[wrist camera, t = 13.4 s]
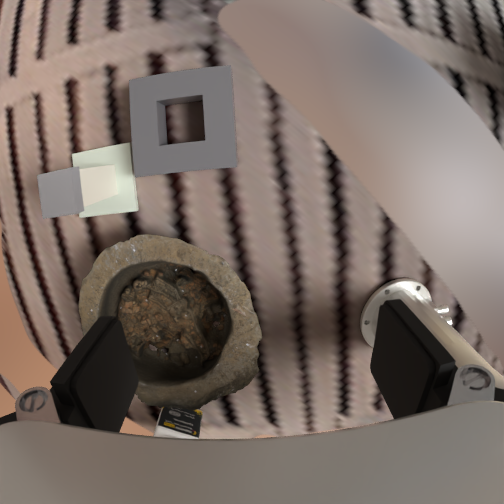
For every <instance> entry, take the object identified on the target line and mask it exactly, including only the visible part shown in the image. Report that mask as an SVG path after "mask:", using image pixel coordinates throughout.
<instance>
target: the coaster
mask: <svg viewBox="0 0 504 504" xmlns="http://www.w3.org/2000/svg"><path fill="white" fill-rule="evenodd" d="M72 159H73V167H78V166H79V169H85V168H91V167H98V166H105V165H113V164H115V171H116V181H117V190H118V194H117V195H115V196H112V197H109V198H107V199H104V200H101V201H99V202H96V203H94V204H91V205H89V206H86V207H84V211H83V212H80V213H79V216H80V218H82V217H90V216H98V215H106V214H115V213H123V212H132V211H138V210H139V209H138V201H137V192H136V183H135V173H134V163H133V151H132V143H124V144H118V145H113V146H108V147H103V148H98V149H93V150H88V151H84V152H79V153H75V154H72Z"/></svg>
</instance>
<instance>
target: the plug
mask: <svg viewBox="0 0 504 504" xmlns="http://www.w3.org/2000/svg"><path fill="white" fill-rule="evenodd" d="M37 179H38V188H39V196H40V203H41V210H42V216H43V219H45V218H52V217H59V216H66V215H73V214H78V213H80V212H83V211H84V207H86V206H89V205H91V204H94V203H96V202H99V201H101V200H104V199H107V198H109V197H112V196H115V195H117V194H118V190H117V181H116V171H115V164H113V165H105V166H98V167H91V168H85V169H79V166H78V167H71V168H66V169H62V170H57V171H53V172H48V173H44V174H40V175H37Z"/></svg>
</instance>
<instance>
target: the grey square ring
mask: <svg viewBox="0 0 504 504" xmlns="http://www.w3.org/2000/svg"><path fill="white" fill-rule="evenodd" d="M129 96H130V120H131V137H132V151H133V163H134V173H135V177H142V176H150V175H158V174H167V173H176V172H185V171H195V170H206V169H218V168H231V167H237V166H238V158H237V143H236V127H235V111H234V95H233V78H232V70H231V65H228V66H217V67H207V68H198V69H190V70H183V71H176V72H170V73H164V74H158V75H152V76H147V77H142V78H137V79H132V80H129ZM197 101H203V110H204V126H205V141H195V142H186V143H178V144H170V145H167V132H166V115H165V106H167V105H173V104H181V103H188V102H197Z"/></svg>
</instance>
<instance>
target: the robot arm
mask: <svg viewBox="0 0 504 504" xmlns="http://www.w3.org/2000/svg"><path fill="white" fill-rule="evenodd" d="M446 313H448V306H447V305H442V306H439V307H436V306H435V305H434V304H433V303H432V301H431V296H430V293H429V292H428V290H427V289H426V287H424V286H423V285H422V284H421V283H420V282H418V281H416V280H414V279H409V278H401V279H396V280H393V281H390V282H388V283H386V284H384V285H383V286H382V287H380V288H379V289H378V290H377V291H376V292H375V293H374V294H373V295H372V296H371V297H370V298H369V300H368V301H367V303H366V305H365V307H364V309H363V311H362V314H361V319H360V329H361V332H362V335H363V337H364V339H365V340H366V342H367V343H368V344H369V345H370V346H371V347H373V353H372V358H371V364H370V368H371V373H372V375H373V377H374V379H375V381H376V383H377V385H378V387H379V389H380V391H381V393H382V395H383V397H384V399H385V401H386V403H387V405H388V407H389V409H390V412H391V414H392V416H393V418H394V419H393V420H388V421H384V422H379V423H374V424H369V425H364V426H359V427H353V428H347V429H341V430H335V431H328V432H321V433H313V434H304V435H294V436H283V437H271V438H252V439H186V438H167V437H154V436H143V435H133V434H126V433H119V432H120V429H121V426H122V424H123V421H124V419H125V416H126V414H127V411H128V409H129V406H130V404H131V401H132V399H133V397H134V394H135V392H136V389H137V387H138V383H139V380H138V375H137V372H136V369H135V366H134V363H133V360H132V357H131V353H130V350H129V347H128V343H127V340H126V337H125V333H124V330H123V326H122V323H121V321H120V320H117V318H116V317H115V316H100V317H99V318H98V319H97V321H96V322H95V323H94V324H93V326H92V327H91V328H90V329H89V331H88V332H87V333H86V334H85V336H84V337H83V338H82V340H81V341H80V342H79V343H78V345H77V346H76V347H75V349H74V350H73V351H72V353H71V354H70V355H69V357H68V358H67V359H66V361H65V362H64V363H63V365H62V366H61V367H60V369H59V370H58V371H57V373H56V374H55V375H54V377H53V378H52V380H51V381H50V383H51V385H52V388H51V389H50V391H49V390H48V389H47V388H44V387H33V388H30V389H28V390H25V391H24V392H23V393H21V394H20V396H19V397H18V398H17V400H16V403H15V408H16V412H14V413H11V414H9V415H6V416H3V417H1V418H0V504H504V377H503V376H502V375H501V374H499V373H498V372H497V371H496V370H495V369H493V368H492V367H491V366H490V365H489V364H488V363H487V362H486V361H485V360H484V359H483V358H482V357H481V356H480V355H479V354H478V353H477V352H476V351H475V350H474V349H473V348H472V347H471V346H470V345H469V344H468V342H467V341H466V340H465V339H464V338H463V337H462V336H461V335H460V334H459V333H458V332H457V331H456V330H455V329H454V328H453V327H452V326H451V324H452V320H451V318H450V316H445V317H442V316H441V315H440V314H446Z"/></svg>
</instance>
